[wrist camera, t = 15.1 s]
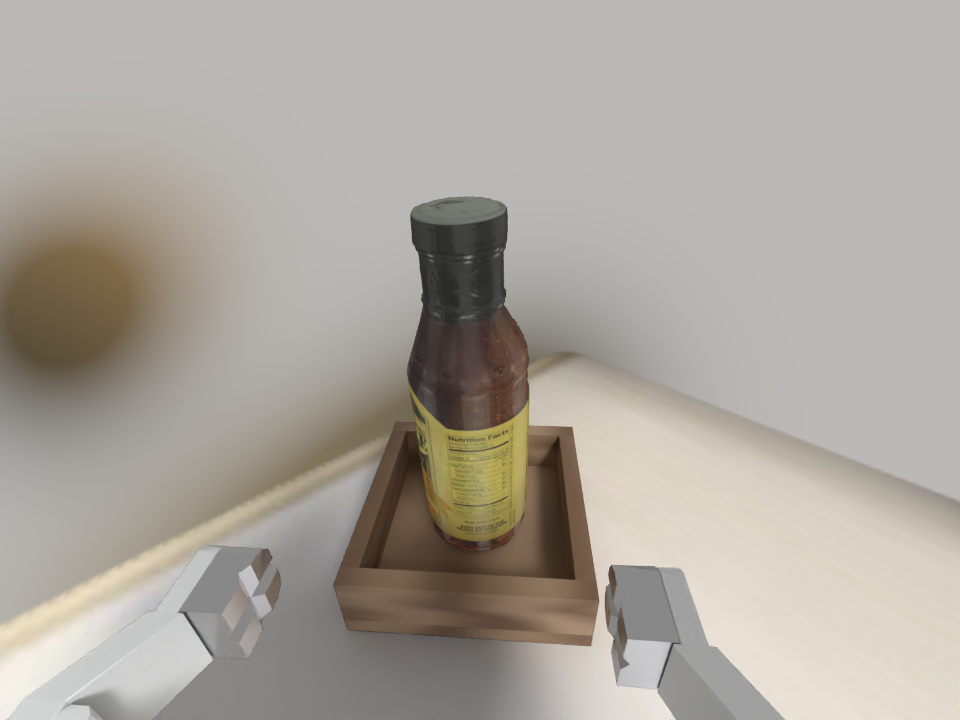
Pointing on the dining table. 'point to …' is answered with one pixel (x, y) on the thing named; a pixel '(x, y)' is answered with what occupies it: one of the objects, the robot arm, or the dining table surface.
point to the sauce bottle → (469, 375)
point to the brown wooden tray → (473, 556)
